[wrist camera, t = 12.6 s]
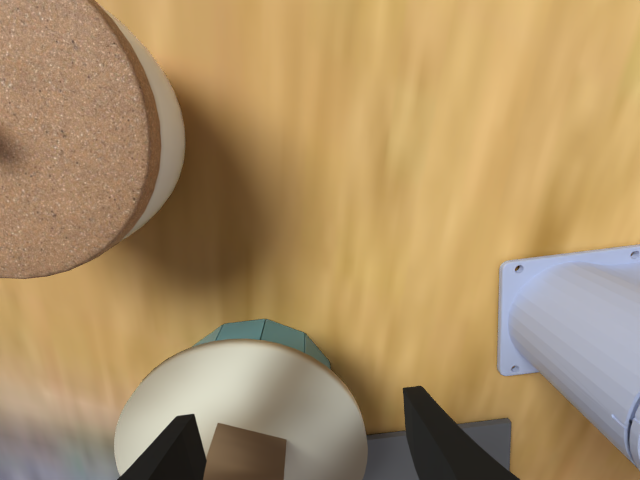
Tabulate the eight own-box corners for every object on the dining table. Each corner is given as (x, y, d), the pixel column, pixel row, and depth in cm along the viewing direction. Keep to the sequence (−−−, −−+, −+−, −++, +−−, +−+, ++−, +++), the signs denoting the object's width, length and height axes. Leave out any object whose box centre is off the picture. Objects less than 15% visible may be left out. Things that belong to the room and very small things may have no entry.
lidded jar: (192, 250, 20) (99, 335, 11) (1, 200, 19) (-277, 249, 10) (232, 59, 18) (151, -34, 8) (13, -12, 16) (-350, -208, 7)
